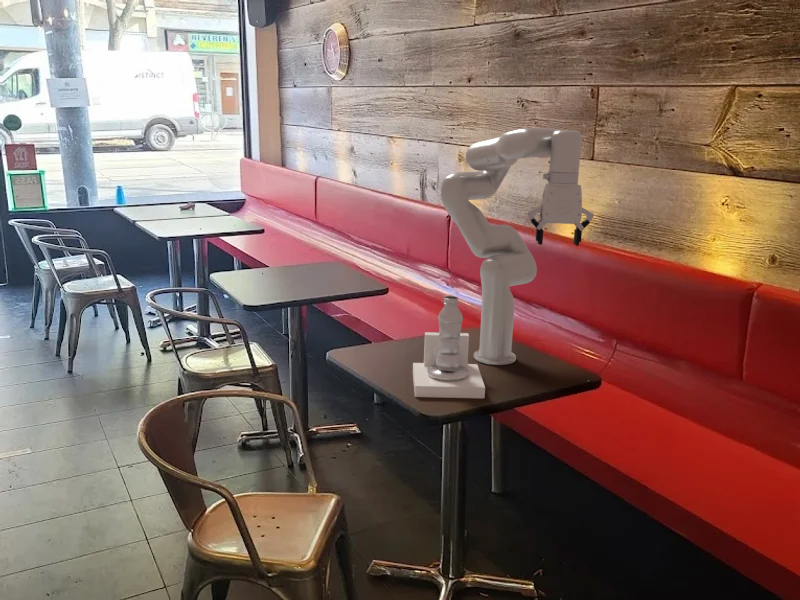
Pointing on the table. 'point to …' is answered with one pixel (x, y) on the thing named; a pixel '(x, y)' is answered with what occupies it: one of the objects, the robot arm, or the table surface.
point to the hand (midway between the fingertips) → (557, 244)
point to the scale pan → (447, 373)
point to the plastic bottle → (449, 335)
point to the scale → (446, 389)
